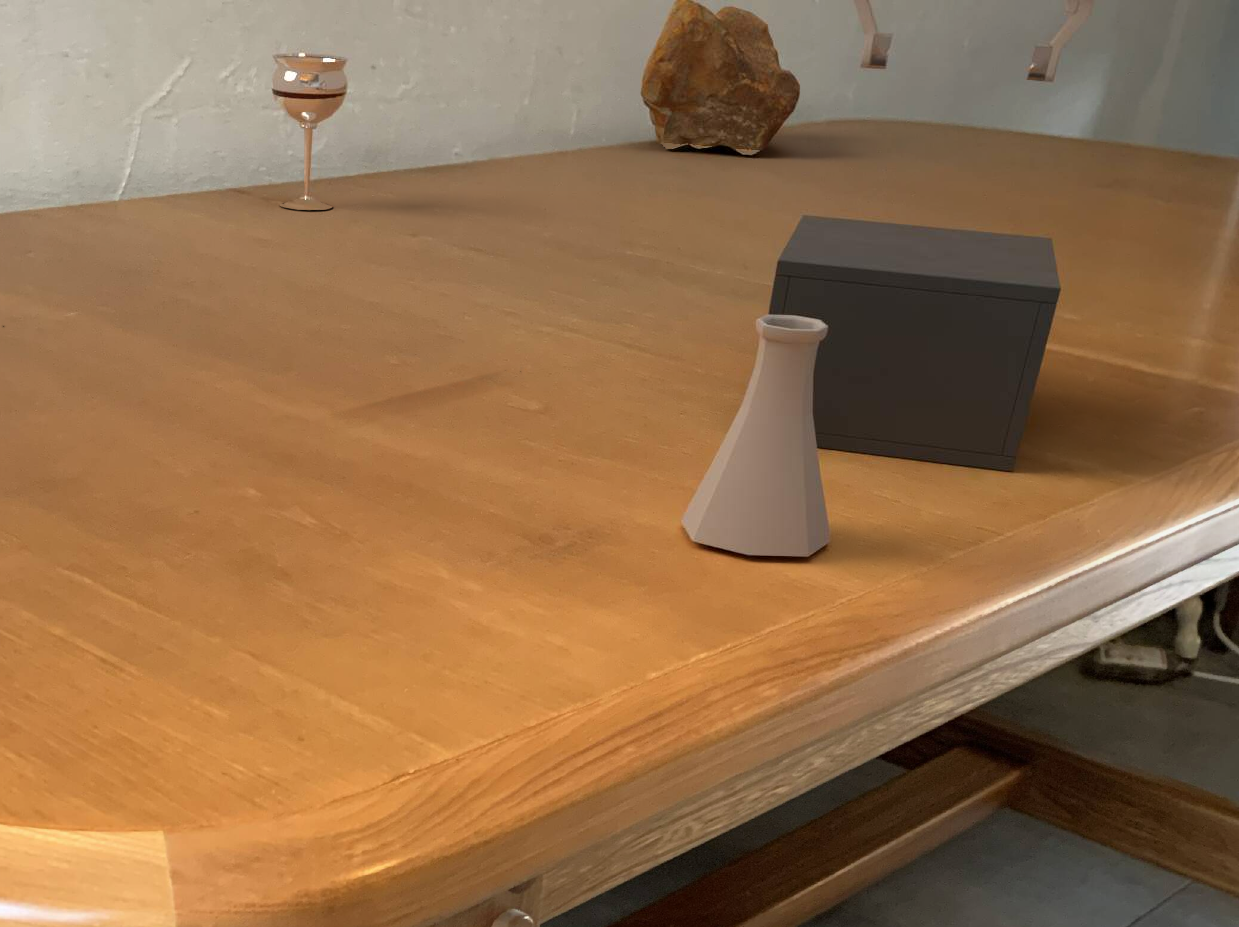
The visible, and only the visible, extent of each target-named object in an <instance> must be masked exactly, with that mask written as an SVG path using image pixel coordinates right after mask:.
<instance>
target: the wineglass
mask: <svg viewBox="0 0 1239 927" xmlns="http://www.w3.org/2000/svg"><path fill="white" fill-rule="evenodd" d="M272 59H273V60H274V63H275V66H276V67H275V70H274V71H273V73H272V78H271V92H272V95H273V99H274V101H275V103H276V104H277V105H278V107H279V108H280V109H281V111H283V113H284V114H285V115H286V116H288V117H290V118H291V119H293V120H294V121H296V122H297V123H298V126H299V128H300V129H302V130H303V163H304V164H303V166H304V168H303V170H304V171H303V172H304V173H303V174H304V175H303V176H304V178H303V179H304V182H303V183H304V195H303V196H300V197H299V198H300V199H305V200H306V199H308V200H310V199H315V198H314V197H312V196H309V195H310V181H311V180H310V179H311V163H312V150H313V149H312V147H313V133H314V130H316V129H317V128H318V127H319V125H318V124H320V123H321V122H323V121H325V120H327V119H329V118H331V117H333V116H334V115H335V113H336V112H337V111H338V110H340V107H342V105H343V104H344V102H345V99H346V96H347V92H348V86H349V85H348V80H347V79H348V78H347V75H346V73H345V70H344V69H345V67H346V65H347V63H348V61H349V59H348V58H347V57H344V56H339V55H332V54H320V53H296V52H295V53H292V52H291V53H277V54H272Z"/></svg>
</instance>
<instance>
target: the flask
mask: <svg viewBox="0 0 1239 927" xmlns="http://www.w3.org/2000/svg"><path fill="white" fill-rule="evenodd" d="M755 331H756V333H757V334H758V335H759V343H758V348H757V353H756V359H755V364H754V368H753V371H752V374H751V377H750V380H749V382H748V385H747V388H746V391H745V393H744V397H743V400H742V401H741V402H742V403H741V406H740V407H739V409H738V411H737V413H736V415H735V417H734V419H733V421H732V423H731V425H730V426H729V429H728V430H727V432H726V435H725V436H724V439H723V440H722V442H721V445H720V447H719V449H718V450H717V453H716V454H715V457H714V458H713V461H712V463H711V464H710V466H709V468H708V470H707V471H706V473H705V475H704V477H703V478H702V481H701V482H700V484H699V486H698V488H697V489H696V491H695V493H694V495H693V497H692V498H691V501H690V502H689V504H688V506H687V507H686V508H687V509H686V510H685V512H684V514H683V516H682V518H681V520H680V523H681V525H682V526H683V529H684V530H685V531H686V533H687V534H688V536H689V538H690V540H691V541H692V542H694V543H698V544H702V545H706V546H711V547H714V548H719V549H723V550H726V551H729V552H730V551H731V552H734V553H738V554H743V555H746V556H772V557H811V555H813V554H815V553H816V552H817V551H819V550H821V549H822V548H823V547H824V546H825V545H827V544H829V543H830V542H831V541H832V540H831V531H830V524H829V517H828V512H827V505H826V500H825V499H826V498H825V494H824V487H823V480H822V475H821V468H820V461H819V452H818V447H817V444H816V436H815V428H814V420H813V371H814V365H815V360H816V354H817V348H818V345H819V342H820V341H821V340H823V339H824V338H825V336H826V334H827V331H828V326H827V325H826V324H825V323H823V322H822V321H821V320H818V319H813V318H807V317H801V316H795V315H768V314H766V315H764V316H761V317H759V318H757V319H756V321H755Z"/></svg>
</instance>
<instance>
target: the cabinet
mask: <svg viewBox="0 0 1239 927" xmlns="http://www.w3.org/2000/svg"><path fill="white" fill-rule="evenodd" d="M1052 238H1053V237H1042V236H1032V235H1021V234H1010V233H1003V232H1002V233H999V232H992V231H991V232H989V231H979V230H971V229H970V230H968V229H959V228H958V229H957V228H949V227H948V228H947V227H937V226H925V225H914V224H905V223H904V224H903V223H895V222H883V221H873V220H872V221H871V220H863V219H850V218H839V217H828V216H819V215H809V214H803V215H802V216H801V218H800V220H799V222H798V223H797V225H796V226H795V228H794V231H793V232H792V233H791V236H790V238H789V239H788V241H787V243H786V245H785V247H784V248H783V250H782V252H781V253H780V256H779V257H778V259H777V261H776V267H775V273H774V274H775V275H774V279H773V283H772V284H773V285H772V289H771V295H770V302H769V307H768V313H767V315H795V316H801V317H807V318H813V319H818V320H821V321H822V322H823V323H825V324H826V325H827V326H828V331H827V334H826V336H825V338H824V339H823V340H821V341H820V342H819V345H818V348H817V354H816V360H815V365H814V371H813V420H814V428H815V436H816V444H817V448H819V449H826V450H827V449H828V450H835V451H837V450H838V451H843V452H851V451H852V452H851V453H860V454H869V455H875V456H885V457H892V458H899V459H900V458H901V459H907V460H914V461H915V460H916V461H925V462H931V463H939V464H948V465H954V466H955V465H957V466H965V467H971V468H972V467H973V468H980V469H987V470H997V471H1004V472H1011V473H1013V472H1014V470H1015V467H1016V462H1017V458H1018V454H1019V450H1020V447H1021V443H1022V439H1023V435H1024V431H1025V428H1026V425H1027V419H1028V417H1029V412H1030V409H1031V405H1032V401H1033V397H1034V393H1035V390H1036V386H1037V382H1038V378H1039V374H1040V371H1041V367H1042V364H1043V359H1044V355H1045V352H1046V347H1047V344H1048V339H1049V336H1050V332H1051V329H1052V324H1053V321H1054V317H1055V313H1056V310H1057V305H1058V302H1059V298H1060V294H1061V291H1062V290H1061V289H1062V288H1061V283H1060V282H1061V281H1060V276H1059V271H1058V266H1057V260H1056V256H1055V255H1056V254H1055V250H1054V244H1053V239H1052Z"/></svg>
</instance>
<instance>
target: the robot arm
mask: <svg viewBox="0 0 1239 927" xmlns="http://www.w3.org/2000/svg"><path fill="white" fill-rule="evenodd" d="M853 2H854V5H855V9H856V12H857V15H858V18H859V22H860V24H861V28H862V30H863V34H865V39H864V44H863V49H862V55H861V60H860V69H875V70H886V69H887V66H888V60H889V56H890V55H889V52H888V50H889V49H890V48H891V45H892V40H893V33H890V32H889V33H888V32H880V30H879V27H878V24H877V21H876V16H875V14H874V10H873V8H872V4H871V0H853ZM1094 4H1095V0H1065V4H1064V11H1065V12H1066V13H1067V14H1071V15H1070V16H1069V18H1068V19H1067V20H1066V22H1065V23H1064V24H1063V26H1062V27H1061V28H1060V29H1059V30H1058V31H1057V33H1056V34H1055V35H1054V36H1053V38H1052V39H1051V40H1050V41H1049V44H1046V43H1045V44H1044V43H1034V44H1033V48H1032V52H1031V57H1030V58H1031V60H1032V61H1031V63H1029V65H1028V68H1027V73H1026V81H1035V82H1046V83H1053V82H1054V79H1055V76H1056V73H1057V68H1058V64H1059V61H1060V56H1061V51H1062V49H1063V48H1065V47H1066V46H1067V44H1069V42H1070V41H1071V40H1072V38H1073V37H1074V36H1075V35H1076V34H1077V32H1078V31H1079V30H1080V29H1081V27H1082V26H1083V25H1084V24H1085V23H1086V21H1087V20H1088V19H1089V18H1090V16H1091V15H1092V11H1093V6H1094Z"/></svg>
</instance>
